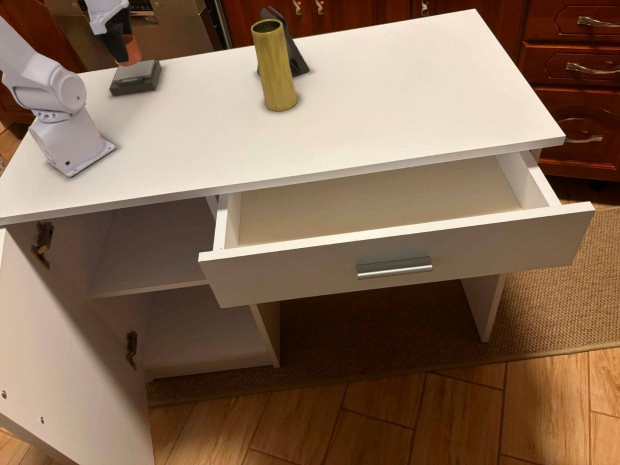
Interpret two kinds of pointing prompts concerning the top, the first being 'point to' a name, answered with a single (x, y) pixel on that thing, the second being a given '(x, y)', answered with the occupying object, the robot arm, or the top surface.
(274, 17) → the phone stand
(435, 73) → the top surface
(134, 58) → the cup
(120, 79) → the scale
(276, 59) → the vase
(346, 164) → the top surface
